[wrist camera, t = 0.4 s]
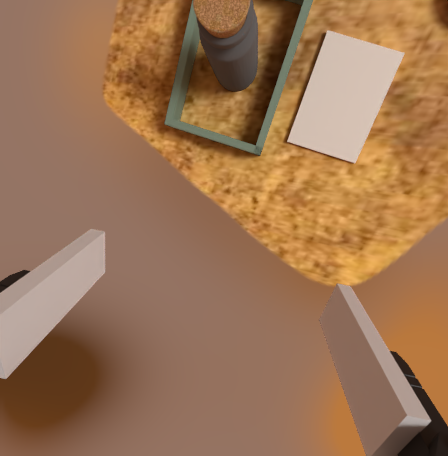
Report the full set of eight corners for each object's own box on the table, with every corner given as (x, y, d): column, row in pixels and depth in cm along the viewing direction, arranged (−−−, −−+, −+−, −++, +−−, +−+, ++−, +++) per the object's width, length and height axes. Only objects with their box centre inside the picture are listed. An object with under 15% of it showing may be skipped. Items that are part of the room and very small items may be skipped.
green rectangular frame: (208, -32, 32) (204, -52, 29) (313, -2, 31) (319, -19, 28) (171, 127, 37) (164, 124, 34) (259, 156, 37) (260, 155, 34)
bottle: (208, 78, 35) (174, 17, 21) (228, 35, 33) (207, -64, 19) (243, 100, 35) (234, 54, 21) (265, 58, 33) (272, -24, 19)
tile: (326, 32, 32) (327, 30, 31) (402, 54, 31) (404, 53, 31) (286, 141, 36) (287, 141, 35) (353, 163, 35) (355, 163, 35)
